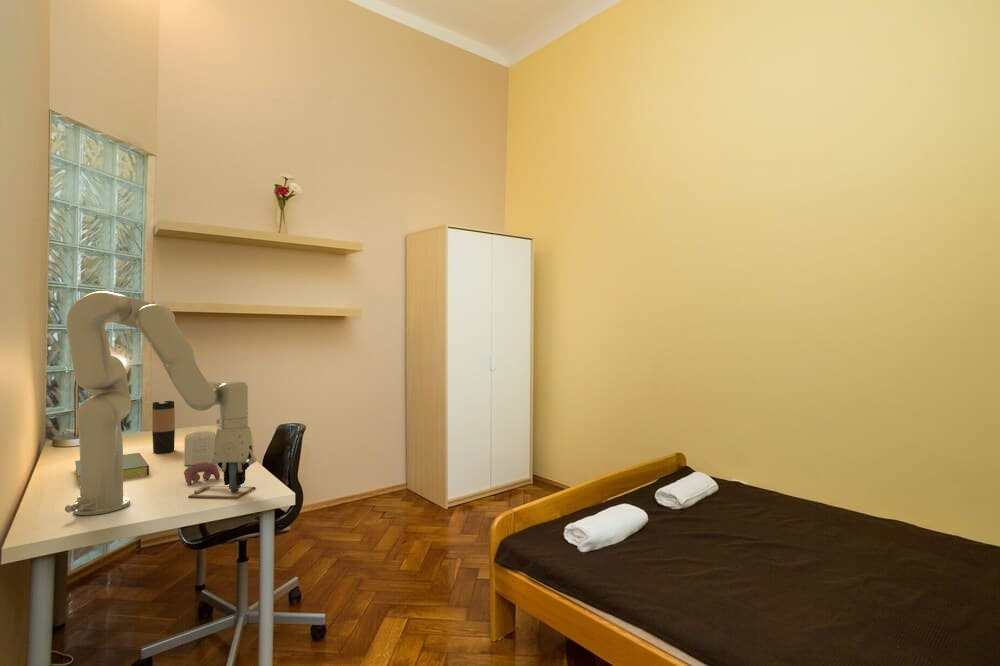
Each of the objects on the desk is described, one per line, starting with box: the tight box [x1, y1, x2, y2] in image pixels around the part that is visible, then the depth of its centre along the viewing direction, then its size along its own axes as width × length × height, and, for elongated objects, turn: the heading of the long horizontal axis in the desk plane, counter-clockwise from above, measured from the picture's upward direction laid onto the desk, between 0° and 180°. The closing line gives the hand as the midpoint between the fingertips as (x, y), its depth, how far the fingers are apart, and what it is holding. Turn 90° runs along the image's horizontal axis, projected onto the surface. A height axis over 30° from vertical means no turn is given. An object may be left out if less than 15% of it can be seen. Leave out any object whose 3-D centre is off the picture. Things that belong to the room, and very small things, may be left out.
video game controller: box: [183, 462, 221, 486], centre depth 171 cm, size 10×5×7 cm, turn 136°
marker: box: [228, 462, 242, 492], centre depth 157 cm, size 3×3×11 cm
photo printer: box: [183, 429, 216, 466], centre depth 192 cm, size 10×4×12 cm, turn 113°
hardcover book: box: [74, 452, 150, 486], centre depth 181 cm, size 25×19×4 cm
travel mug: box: [151, 400, 176, 455], centre depth 211 cm, size 8×8×20 cm
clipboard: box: [187, 485, 256, 500], centre depth 158 cm, size 10×15×1 cm, turn 86°
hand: (234, 483), depth 157 cm, fingers closed on marker, 3 cm apart
